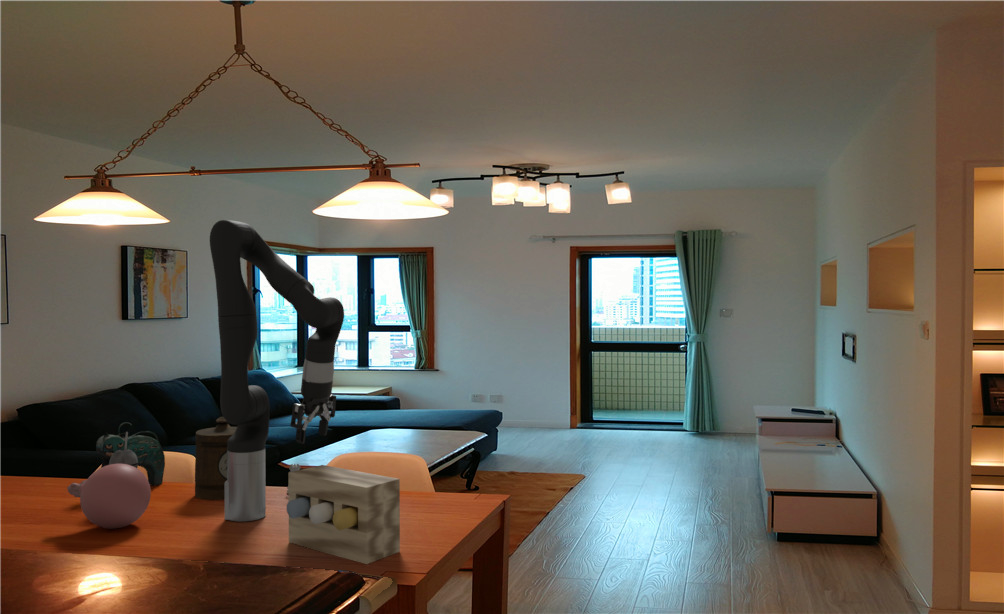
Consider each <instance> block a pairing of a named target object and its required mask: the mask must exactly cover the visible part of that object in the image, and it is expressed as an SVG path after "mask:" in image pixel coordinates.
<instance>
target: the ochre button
mask: <svg viewBox="0 0 1004 614" xmlns="http://www.w3.org/2000/svg"><path fill="white" fill-rule="evenodd" d="M333 524H334V526H335V527H336V528H337V529H338V530H343V529H346V528H350V527H353V526H356V525H358V507H354V506H353V507H349V508H346V509H342V510H339V511H336V512H335V513H334V515H333Z"/></svg>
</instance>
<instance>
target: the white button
mask: <svg viewBox="0 0 1004 614" xmlns="http://www.w3.org/2000/svg"><path fill="white" fill-rule="evenodd" d="M333 515H334V502H331V501H328V502H325V503H321V504H317V505H314V506H312V507H311V508H310V510H309V517H310V520H311V521H312V522H313V523H314V524H319V523H323V522H326V521H329V520H333Z"/></svg>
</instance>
